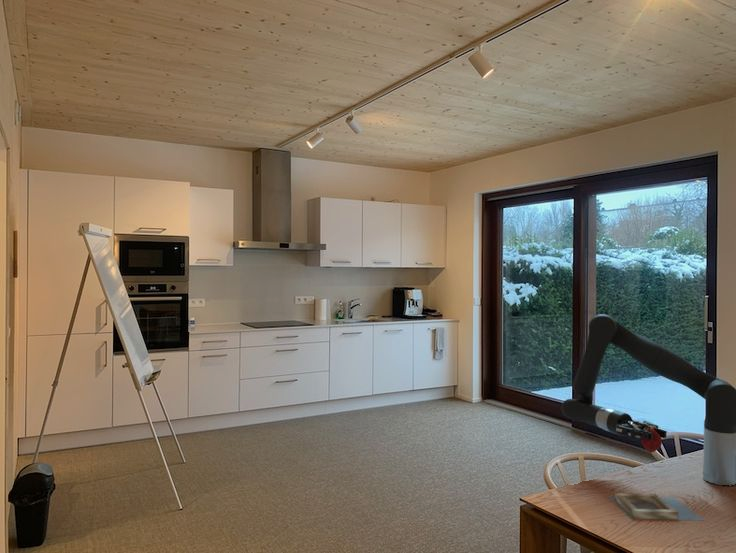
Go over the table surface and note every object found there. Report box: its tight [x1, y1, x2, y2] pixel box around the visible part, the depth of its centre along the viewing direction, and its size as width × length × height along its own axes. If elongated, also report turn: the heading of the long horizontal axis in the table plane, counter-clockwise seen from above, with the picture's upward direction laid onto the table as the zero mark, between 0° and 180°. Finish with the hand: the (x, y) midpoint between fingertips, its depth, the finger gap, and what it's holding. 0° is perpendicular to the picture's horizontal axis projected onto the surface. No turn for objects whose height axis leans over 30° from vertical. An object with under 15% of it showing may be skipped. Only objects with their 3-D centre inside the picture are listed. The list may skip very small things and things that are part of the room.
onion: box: [640, 427, 663, 454], centre depth 170 cm, size 6×6×8 cm
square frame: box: [614, 492, 678, 520], centre depth 155 cm, size 12×12×2 cm
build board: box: [607, 495, 705, 522], centre depth 156 cm, size 20×15×2 cm
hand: (658, 435), depth 168 cm, fingers closed on onion, 5 cm apart
